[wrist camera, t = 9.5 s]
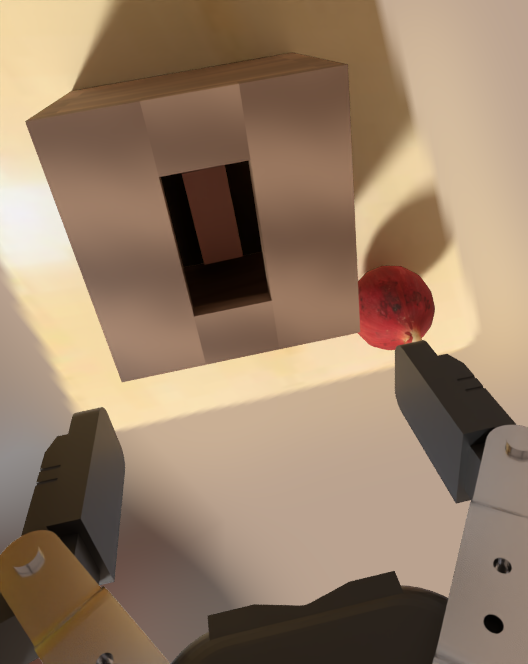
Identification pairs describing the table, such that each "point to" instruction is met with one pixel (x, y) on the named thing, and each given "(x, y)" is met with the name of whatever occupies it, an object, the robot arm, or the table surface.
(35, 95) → the table surface
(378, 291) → the red pomegranate
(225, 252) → the tall salmon pink box
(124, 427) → the table surface
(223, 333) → the box
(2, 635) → the robot arm
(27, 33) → the table surface
